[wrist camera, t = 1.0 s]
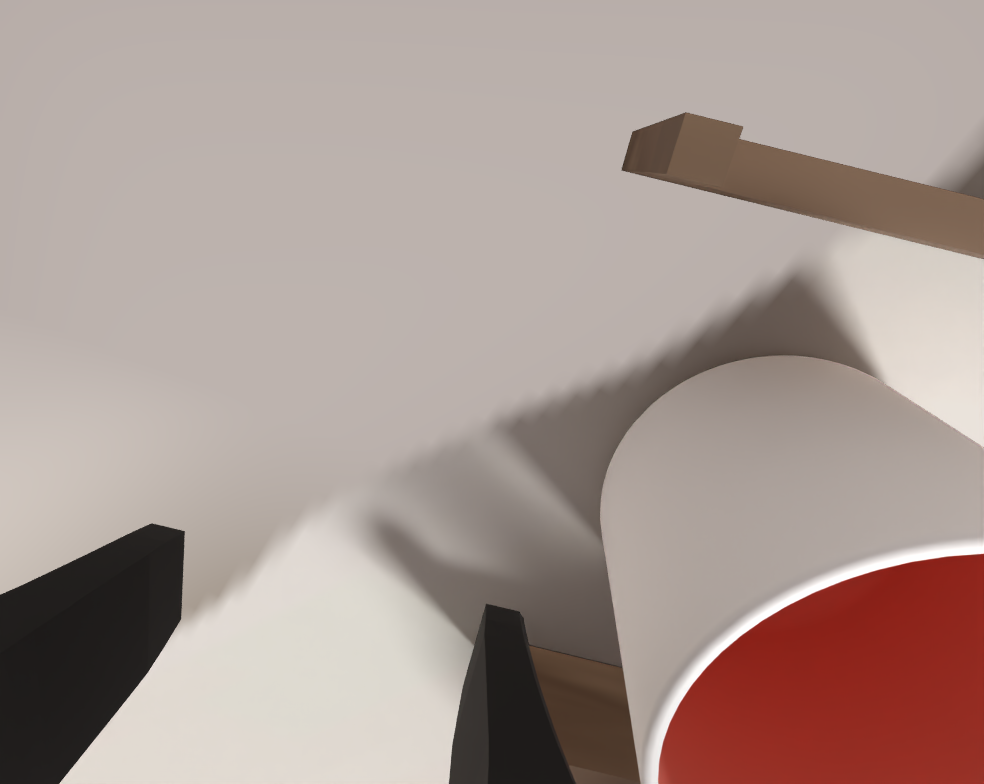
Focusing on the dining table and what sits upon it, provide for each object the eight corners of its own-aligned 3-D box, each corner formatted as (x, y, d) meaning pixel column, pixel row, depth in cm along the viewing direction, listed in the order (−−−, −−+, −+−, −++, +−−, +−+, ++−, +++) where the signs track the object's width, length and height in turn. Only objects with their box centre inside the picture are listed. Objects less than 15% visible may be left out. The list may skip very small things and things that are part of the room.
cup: (734, 278, 17) (954, 409, 8) (985, 456, 19) (1426, 749, 9) (538, 518, 21) (533, 806, 11) (762, 654, 22) (922, 1014, 13)
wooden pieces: (882, 751, 23) (1002, 959, 17) (481, 655, 23) (458, 829, 17) (1204, 271, 16) (1596, 336, 10) (632, 131, 16) (686, 112, 10)
